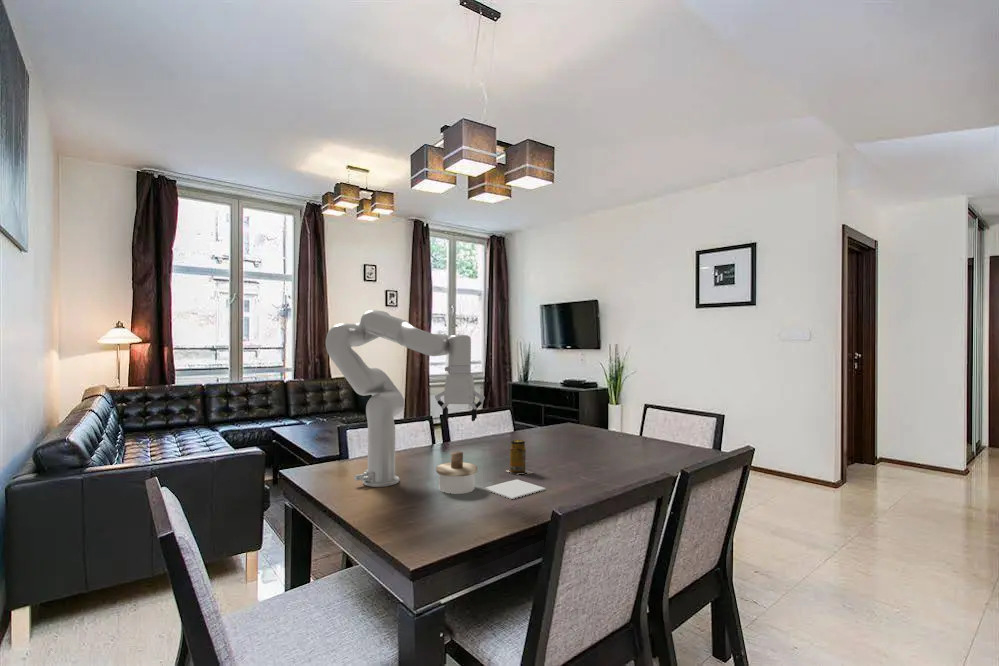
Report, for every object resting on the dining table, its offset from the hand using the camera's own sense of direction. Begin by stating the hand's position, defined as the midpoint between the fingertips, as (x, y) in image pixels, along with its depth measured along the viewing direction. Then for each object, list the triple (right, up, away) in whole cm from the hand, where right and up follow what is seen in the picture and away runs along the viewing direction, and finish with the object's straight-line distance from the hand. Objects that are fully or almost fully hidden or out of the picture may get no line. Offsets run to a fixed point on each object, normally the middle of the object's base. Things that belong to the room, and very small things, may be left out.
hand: (459, 420), depth 173 cm
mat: (+19, -23, -2) cm, 30 cm away
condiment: (+21, -24, +21) cm, 38 cm away
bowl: (-1, -23, -1) cm, 23 cm away
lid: (-1, -17, -1) cm, 17 cm away
